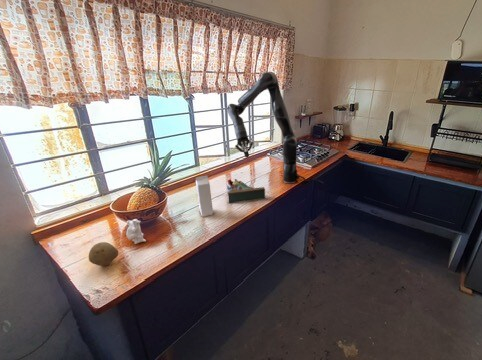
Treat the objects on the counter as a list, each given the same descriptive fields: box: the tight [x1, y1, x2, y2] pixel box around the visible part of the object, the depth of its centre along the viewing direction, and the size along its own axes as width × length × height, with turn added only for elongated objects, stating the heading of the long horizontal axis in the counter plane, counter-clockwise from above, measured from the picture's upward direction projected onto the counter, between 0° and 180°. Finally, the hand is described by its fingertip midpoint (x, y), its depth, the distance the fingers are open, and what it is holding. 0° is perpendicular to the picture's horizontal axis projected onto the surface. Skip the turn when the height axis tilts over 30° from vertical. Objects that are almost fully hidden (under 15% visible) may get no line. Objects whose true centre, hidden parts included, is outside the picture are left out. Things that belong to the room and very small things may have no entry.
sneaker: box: [226, 178, 253, 193], centre depth 156 cm, size 8×21×10 cm, turn 72°
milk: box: [195, 175, 214, 218], centre depth 131 cm, size 6×6×22 cm
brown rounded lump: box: [88, 241, 119, 267], centre depth 97 cm, size 9×9×10 cm
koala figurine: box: [125, 218, 147, 245], centre depth 110 cm, size 8×7×12 cm
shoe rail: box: [227, 186, 266, 204], centre depth 150 cm, size 22×3×7 cm, turn 107°
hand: (247, 157), depth 165 cm, fingers closed
